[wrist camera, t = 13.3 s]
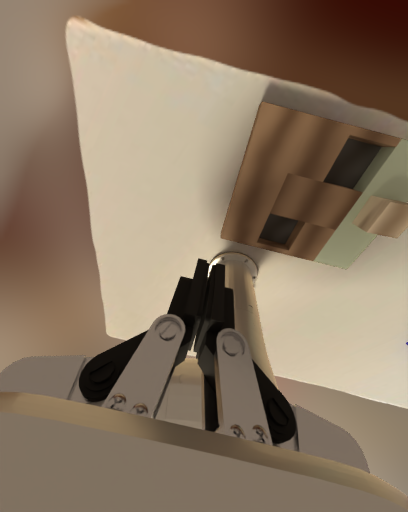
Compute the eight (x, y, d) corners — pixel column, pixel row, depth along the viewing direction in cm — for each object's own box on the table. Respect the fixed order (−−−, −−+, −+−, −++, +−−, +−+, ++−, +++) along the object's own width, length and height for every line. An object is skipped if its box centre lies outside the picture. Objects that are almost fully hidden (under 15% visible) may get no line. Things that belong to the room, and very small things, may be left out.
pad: (430, 151, 26) (451, 152, 24) (339, 261, 39) (346, 269, 36) (385, 139, 26) (401, 138, 24) (307, 253, 38) (313, 261, 36)
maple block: (400, 201, 28) (424, 208, 25) (378, 228, 31) (396, 238, 27) (371, 195, 28) (390, 201, 25) (351, 223, 31) (366, 232, 27)
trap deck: (385, 139, 26) (402, 138, 24) (307, 253, 38) (313, 261, 36) (259, 105, 26) (262, 101, 23) (221, 232, 38) (220, 238, 36)
